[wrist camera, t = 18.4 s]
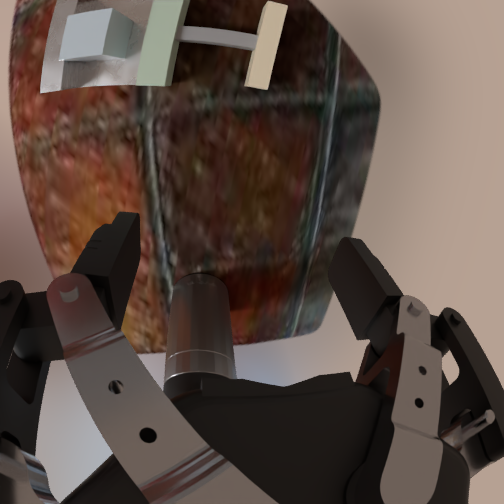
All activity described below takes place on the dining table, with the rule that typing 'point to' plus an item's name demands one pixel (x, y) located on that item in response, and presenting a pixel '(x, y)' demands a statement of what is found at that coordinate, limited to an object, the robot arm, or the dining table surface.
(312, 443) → the robot arm
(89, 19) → the block
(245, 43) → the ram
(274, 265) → the dining table surface
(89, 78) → the frame
